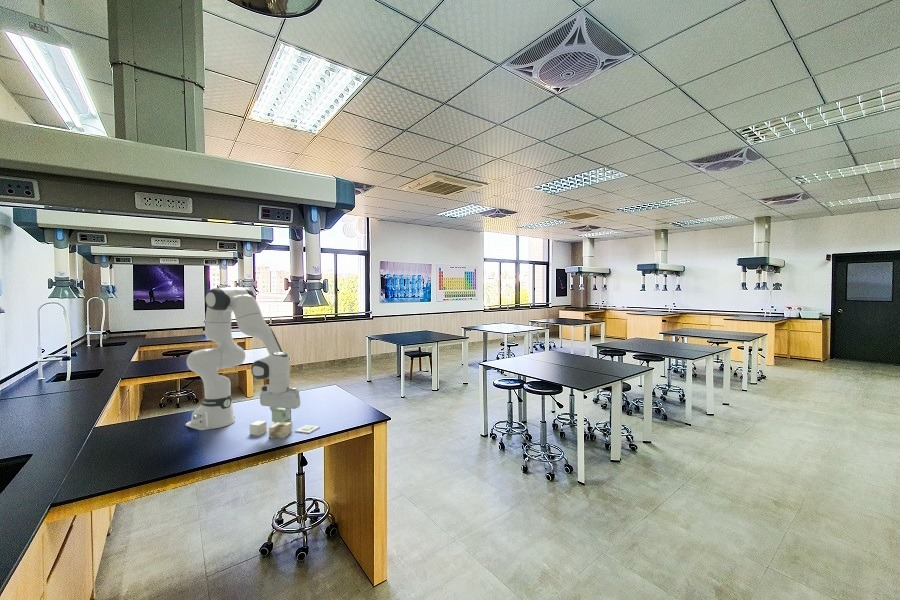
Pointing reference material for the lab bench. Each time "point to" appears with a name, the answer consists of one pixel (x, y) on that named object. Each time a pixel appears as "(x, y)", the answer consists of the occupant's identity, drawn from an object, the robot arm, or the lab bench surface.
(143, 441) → the lab bench surface
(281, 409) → the sage block
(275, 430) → the birch base block
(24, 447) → the lab bench surface
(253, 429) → the off-white block
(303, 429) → the tile
